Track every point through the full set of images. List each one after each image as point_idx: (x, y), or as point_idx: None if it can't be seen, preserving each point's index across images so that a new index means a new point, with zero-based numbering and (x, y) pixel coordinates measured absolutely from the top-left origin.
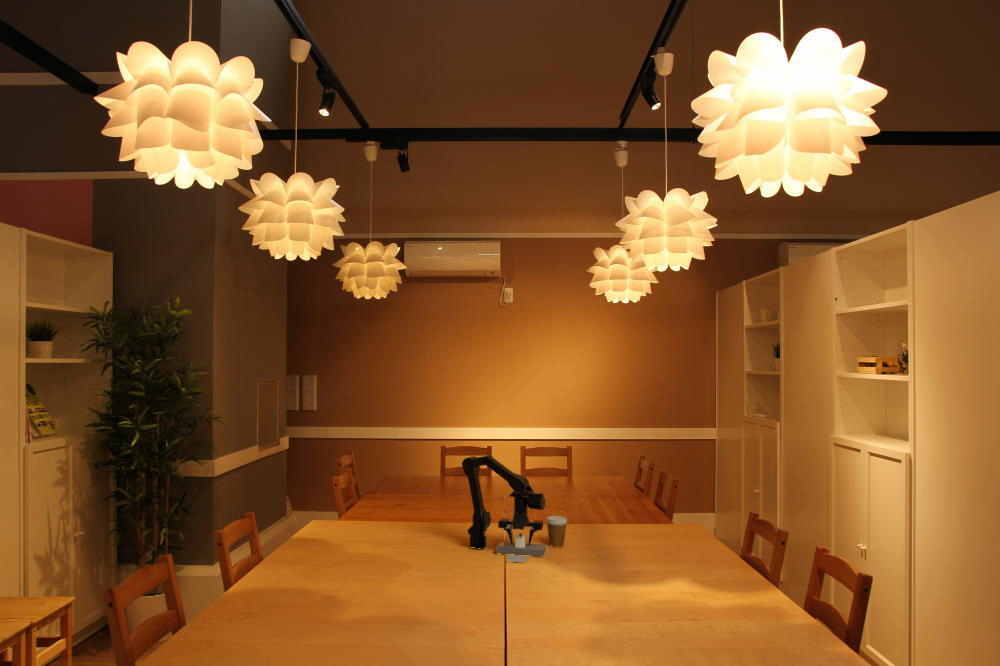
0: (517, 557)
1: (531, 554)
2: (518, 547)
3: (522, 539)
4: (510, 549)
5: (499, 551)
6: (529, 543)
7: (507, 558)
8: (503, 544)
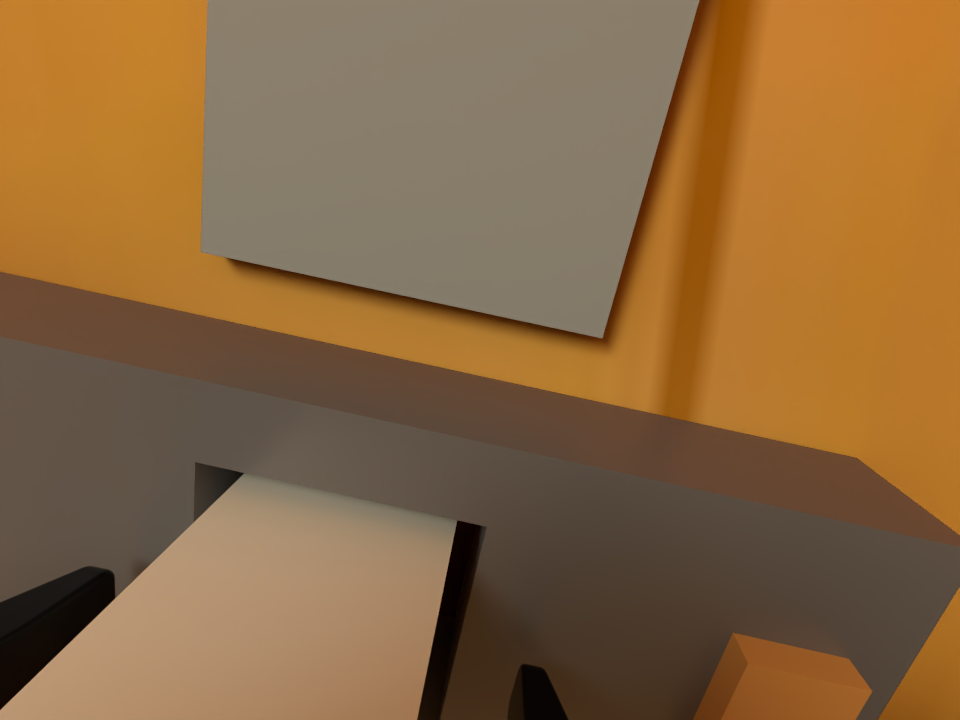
0: (426, 145)
1: (131, 316)
2: (376, 524)
3: (129, 680)
4: (579, 448)
5: (821, 474)
6: (45, 593)
7: (676, 51)
8: (761, 668)
